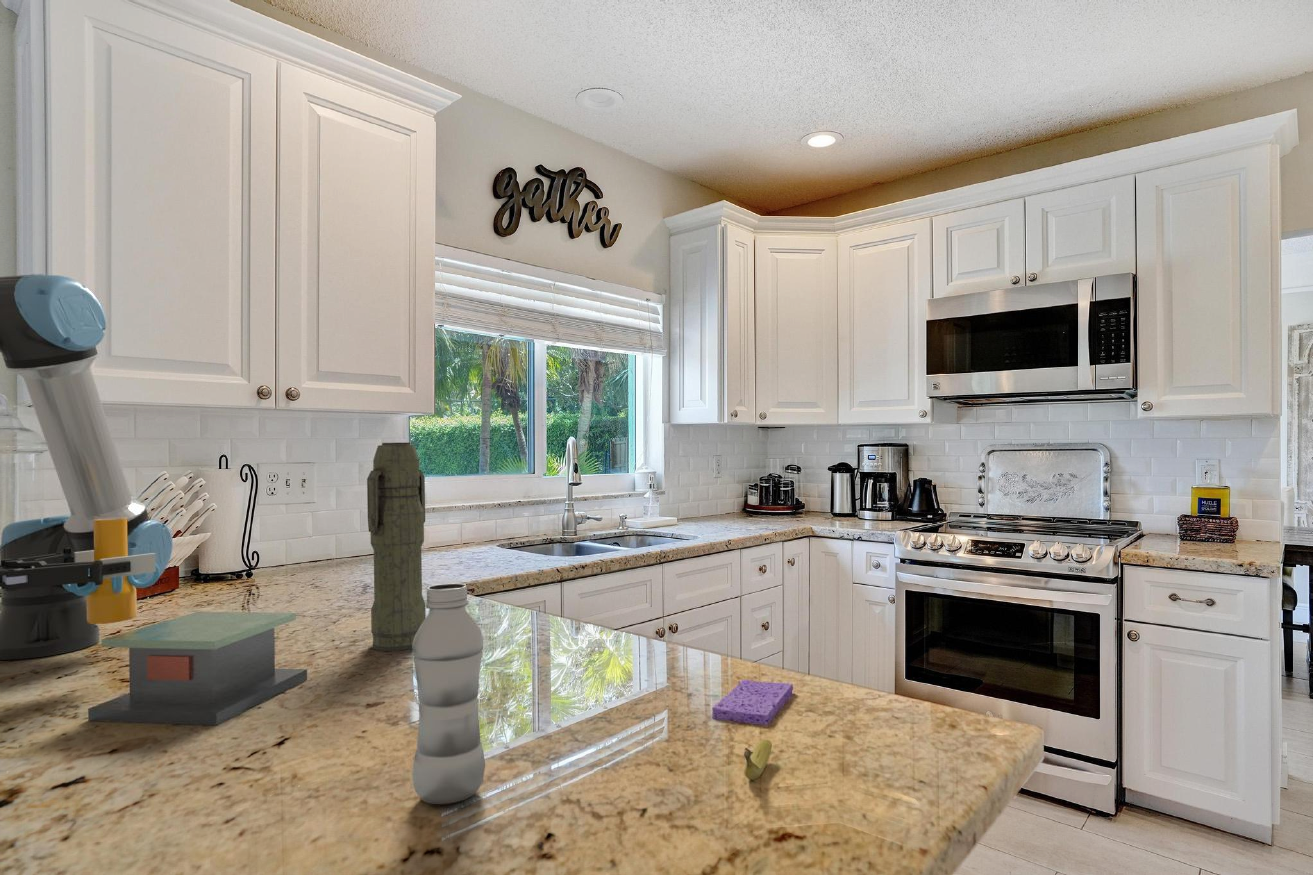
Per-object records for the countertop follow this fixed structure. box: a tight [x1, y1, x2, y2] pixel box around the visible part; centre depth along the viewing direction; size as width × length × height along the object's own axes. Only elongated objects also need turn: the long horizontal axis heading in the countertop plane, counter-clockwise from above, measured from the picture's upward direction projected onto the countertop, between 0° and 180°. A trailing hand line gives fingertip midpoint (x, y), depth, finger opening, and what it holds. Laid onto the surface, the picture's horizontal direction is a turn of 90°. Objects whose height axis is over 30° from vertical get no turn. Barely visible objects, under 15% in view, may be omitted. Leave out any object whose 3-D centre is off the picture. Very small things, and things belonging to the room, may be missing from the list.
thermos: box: [366, 442, 427, 652], centre depth 127 cm, size 9×12×35 cm
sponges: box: [711, 679, 794, 726], centre depth 93 cm, size 7×13×2 cm, turn 156°
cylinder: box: [62, 517, 161, 625], centre depth 108 cm, size 12×10×15 cm
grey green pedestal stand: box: [87, 611, 308, 726], centre depth 100 cm, size 18×18×10 cm
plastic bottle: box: [411, 582, 486, 805], centre depth 70 cm, size 6×7×20 cm
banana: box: [743, 739, 773, 781], centre depth 73 cm, size 8×2×4 cm, turn 160°
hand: (140, 558), depth 111 cm, fingers closed on cylinder, 12 cm apart
